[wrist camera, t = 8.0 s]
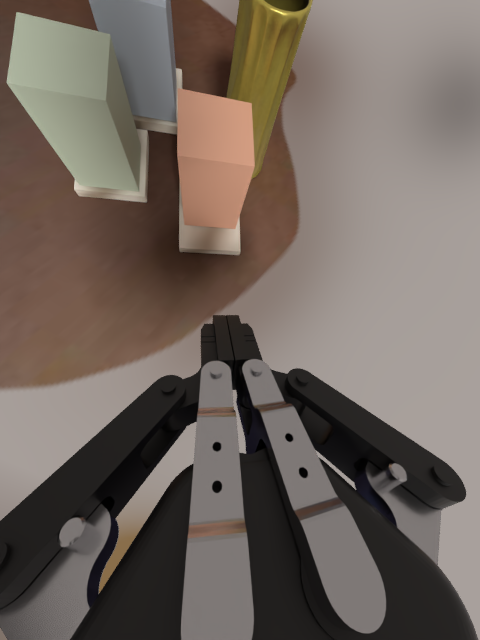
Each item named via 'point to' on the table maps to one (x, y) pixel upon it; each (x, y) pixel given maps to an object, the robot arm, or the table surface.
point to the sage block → (76, 99)
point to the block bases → (189, 236)
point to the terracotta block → (213, 157)
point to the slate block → (142, 52)
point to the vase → (265, 61)
